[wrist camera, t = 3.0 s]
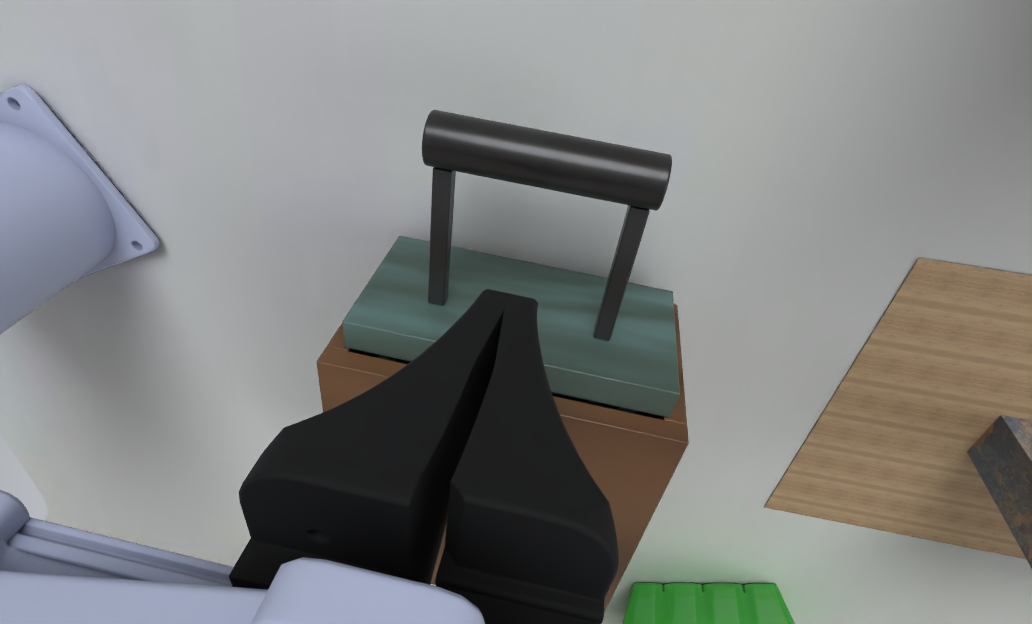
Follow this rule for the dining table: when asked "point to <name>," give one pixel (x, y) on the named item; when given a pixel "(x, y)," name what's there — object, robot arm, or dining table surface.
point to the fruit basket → (706, 604)
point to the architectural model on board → (1012, 483)
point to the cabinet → (593, 430)
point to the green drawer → (533, 268)
